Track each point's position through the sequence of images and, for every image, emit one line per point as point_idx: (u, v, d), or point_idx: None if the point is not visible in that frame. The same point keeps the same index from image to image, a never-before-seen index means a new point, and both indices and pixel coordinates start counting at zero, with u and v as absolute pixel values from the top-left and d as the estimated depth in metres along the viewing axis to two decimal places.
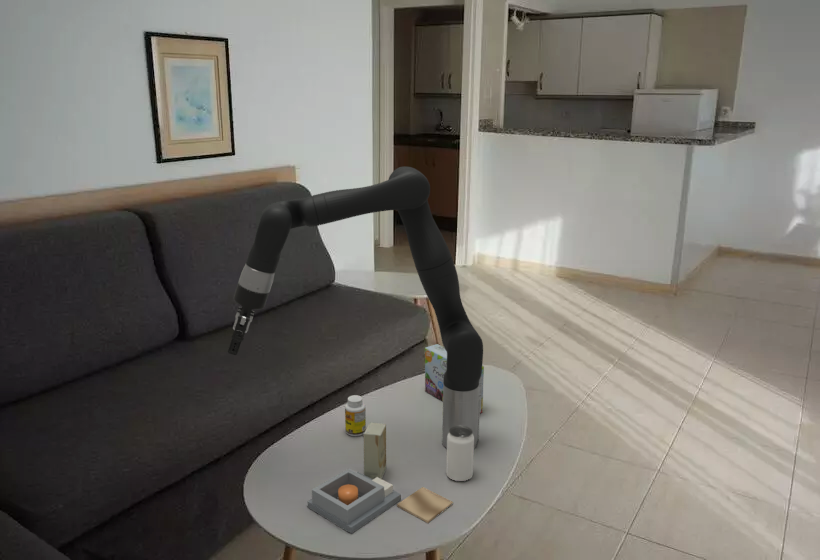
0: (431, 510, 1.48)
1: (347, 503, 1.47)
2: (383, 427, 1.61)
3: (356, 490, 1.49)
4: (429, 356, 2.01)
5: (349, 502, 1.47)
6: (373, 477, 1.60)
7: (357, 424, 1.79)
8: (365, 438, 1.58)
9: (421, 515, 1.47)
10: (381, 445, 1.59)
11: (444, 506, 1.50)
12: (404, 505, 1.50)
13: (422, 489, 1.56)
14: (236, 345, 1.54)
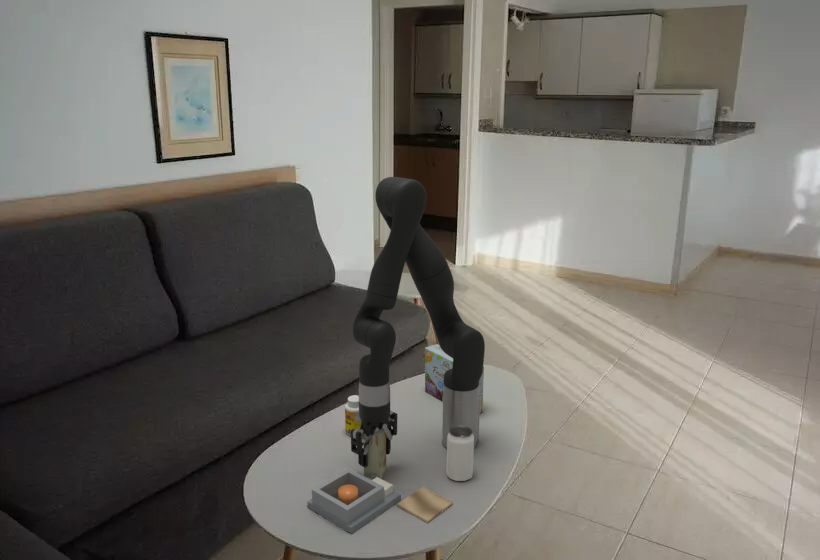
0: (431, 510, 1.48)
1: (347, 503, 1.47)
2: None
3: (356, 490, 1.49)
4: (429, 356, 2.01)
5: (349, 502, 1.47)
6: (373, 477, 1.60)
7: (357, 424, 1.79)
8: (365, 438, 1.58)
9: (421, 515, 1.47)
10: (381, 445, 1.59)
11: (444, 506, 1.50)
12: (404, 505, 1.50)
13: (422, 489, 1.56)
14: (361, 458, 1.58)
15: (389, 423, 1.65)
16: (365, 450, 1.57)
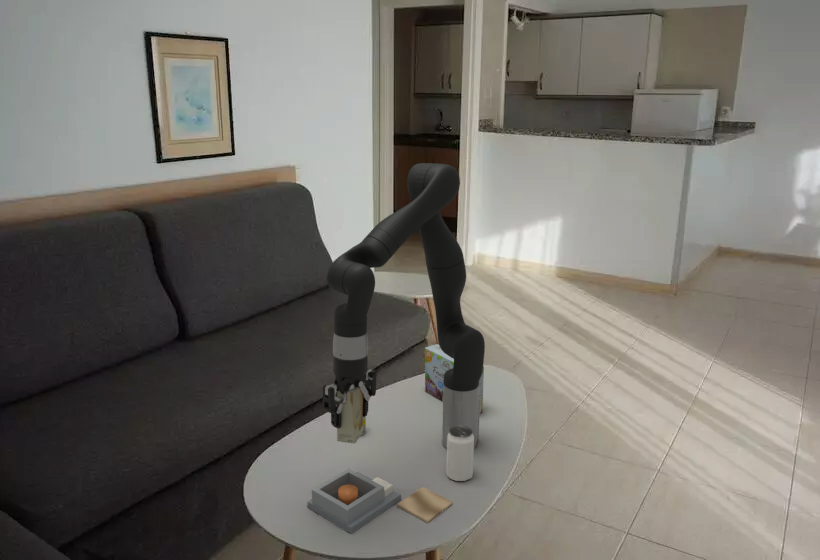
0: (431, 510, 1.48)
1: (347, 503, 1.47)
2: None
3: (356, 490, 1.49)
4: (429, 356, 2.01)
5: (349, 502, 1.47)
6: (347, 440, 1.46)
7: None
8: (339, 396, 1.44)
9: (421, 515, 1.47)
10: (356, 404, 1.44)
11: (444, 506, 1.50)
12: (404, 505, 1.50)
13: (422, 489, 1.56)
14: (334, 417, 1.44)
15: (367, 382, 1.50)
16: (338, 409, 1.43)
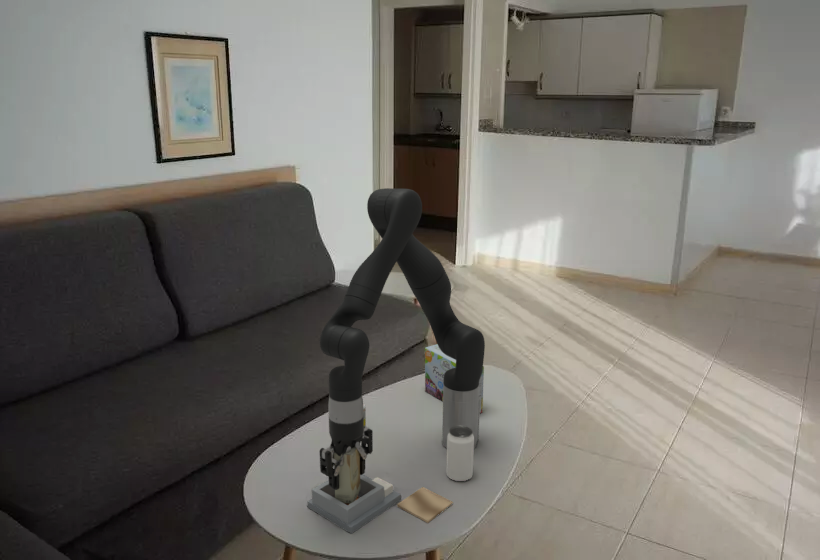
0: (431, 510, 1.48)
1: None
2: None
3: None
4: (429, 356, 2.01)
5: None
6: (345, 500, 1.46)
7: None
8: (336, 458, 1.44)
9: (421, 515, 1.47)
10: (353, 465, 1.45)
11: (444, 506, 1.50)
12: (404, 505, 1.50)
13: (422, 489, 1.56)
14: (332, 480, 1.44)
15: (363, 440, 1.51)
16: (336, 471, 1.43)
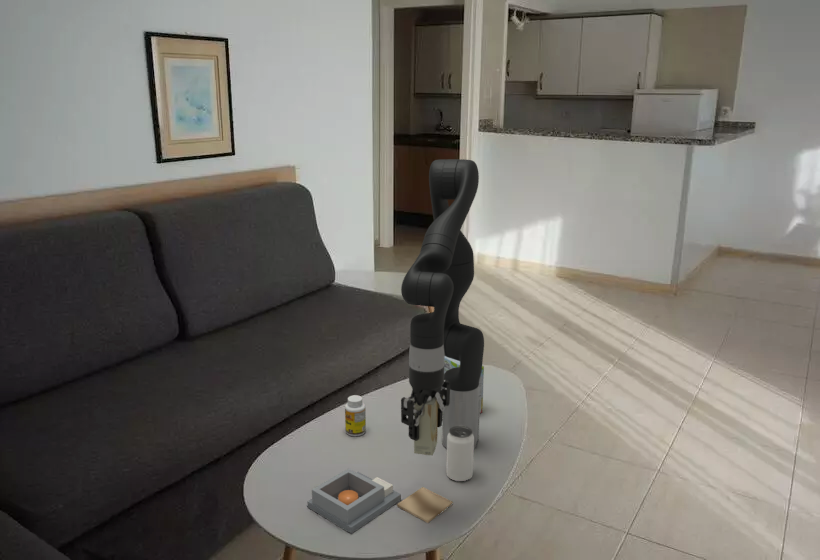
0: (431, 510, 1.48)
1: None
2: None
3: (356, 496, 1.49)
4: None
5: None
6: (424, 452, 1.44)
7: (357, 424, 1.79)
8: (416, 408, 1.42)
9: (421, 515, 1.47)
10: (434, 416, 1.42)
11: (444, 506, 1.50)
12: (404, 505, 1.50)
13: (422, 489, 1.56)
14: (412, 430, 1.42)
15: (441, 392, 1.48)
16: (417, 421, 1.41)
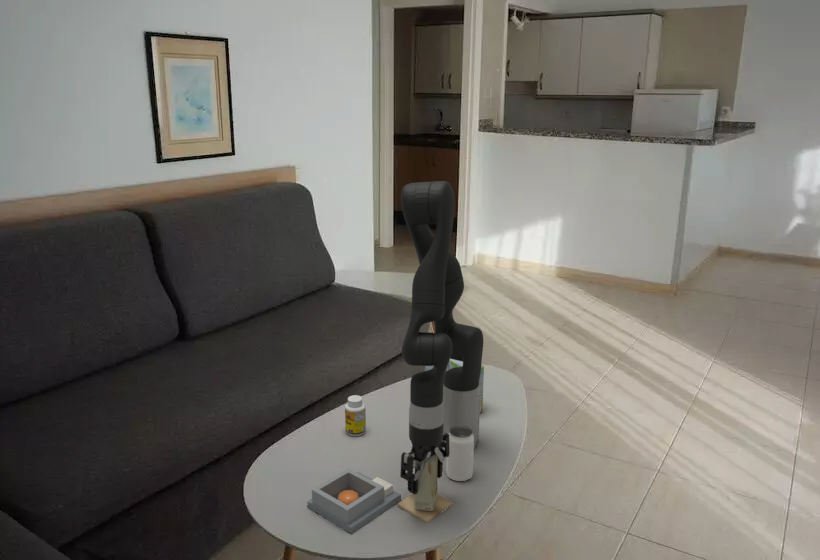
0: None
1: None
2: None
3: (356, 496, 1.49)
4: None
5: None
6: (425, 507, 1.48)
7: (357, 424, 1.79)
8: None
9: (421, 515, 1.47)
10: (434, 473, 1.46)
11: (444, 506, 1.50)
12: (404, 505, 1.50)
13: None
14: (411, 484, 1.45)
15: (440, 444, 1.52)
16: (416, 476, 1.44)
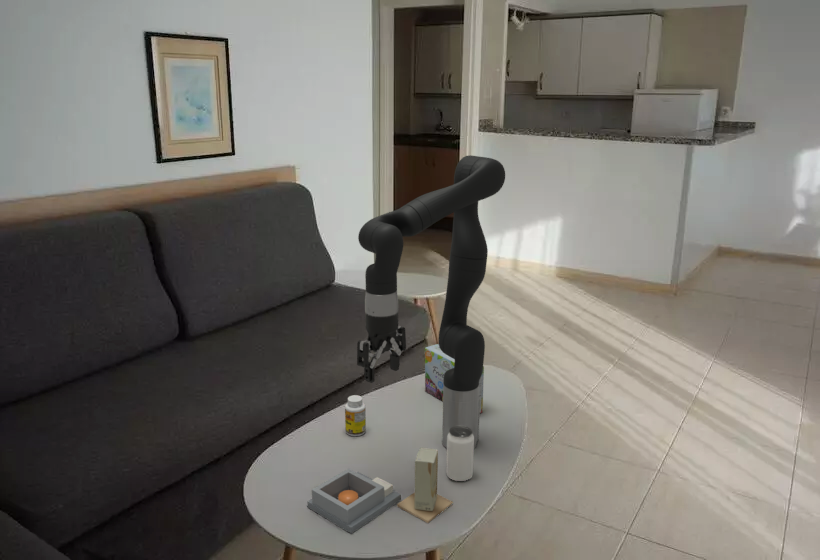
0: None
1: None
2: (435, 453, 1.49)
3: (356, 496, 1.49)
4: (429, 356, 2.01)
5: None
6: (425, 507, 1.48)
7: (357, 424, 1.79)
8: (417, 465, 1.46)
9: (421, 515, 1.47)
10: (434, 473, 1.46)
11: (444, 506, 1.50)
12: (404, 505, 1.50)
13: None
14: (367, 372, 1.50)
15: (397, 338, 1.57)
16: (372, 363, 1.49)
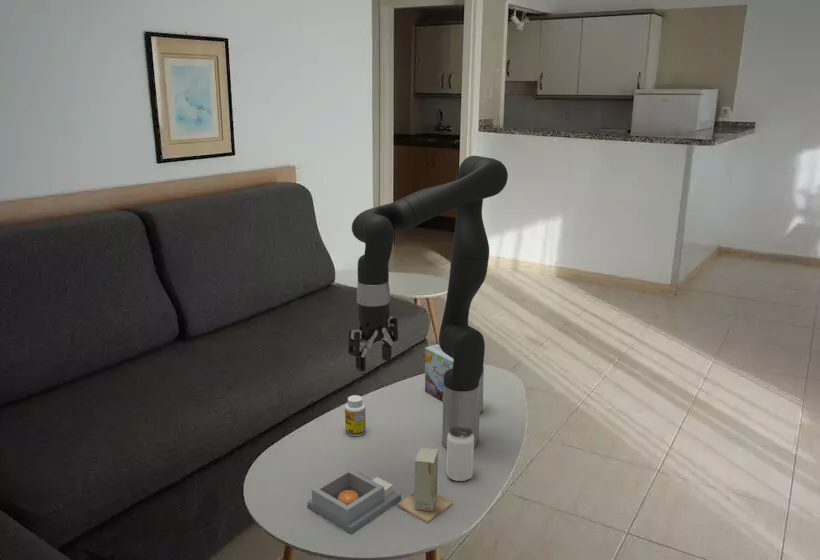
0: None
1: None
2: (435, 453, 1.49)
3: (356, 496, 1.49)
4: (429, 356, 2.01)
5: None
6: (425, 507, 1.48)
7: (357, 424, 1.79)
8: (417, 465, 1.46)
9: (421, 515, 1.47)
10: (434, 473, 1.46)
11: (444, 506, 1.50)
12: (404, 505, 1.50)
13: None
14: (359, 361, 1.52)
15: (389, 329, 1.59)
16: (363, 352, 1.51)
